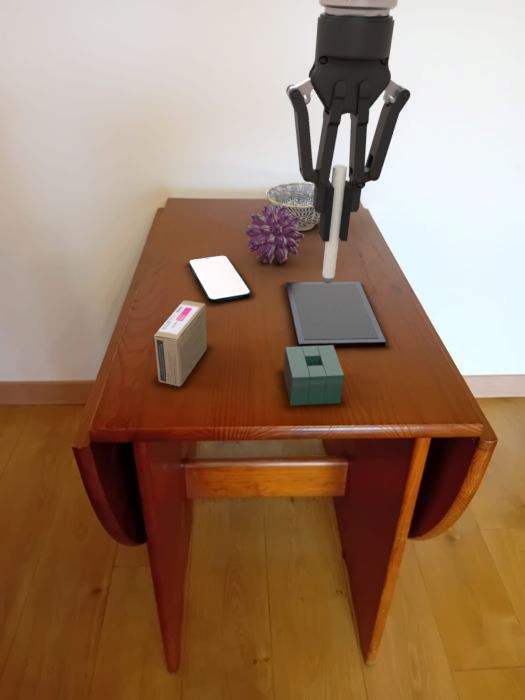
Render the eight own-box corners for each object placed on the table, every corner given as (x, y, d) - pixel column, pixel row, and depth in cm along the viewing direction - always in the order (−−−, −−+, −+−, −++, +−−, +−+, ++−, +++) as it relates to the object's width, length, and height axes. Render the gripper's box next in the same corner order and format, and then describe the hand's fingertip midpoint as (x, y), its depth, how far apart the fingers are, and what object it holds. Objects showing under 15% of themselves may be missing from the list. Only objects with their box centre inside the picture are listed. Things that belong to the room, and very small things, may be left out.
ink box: (186, 344, 85) (183, 298, 81) (209, 349, 85) (207, 302, 80) (156, 382, 78) (151, 334, 73) (181, 388, 77) (177, 339, 72)
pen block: (340, 403, 75) (344, 375, 72) (290, 405, 74) (292, 377, 71) (330, 372, 80) (333, 344, 78) (283, 374, 80) (285, 346, 77)
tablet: (385, 346, 86) (386, 341, 85) (298, 348, 85) (298, 343, 85) (358, 286, 102) (359, 281, 102) (285, 286, 101) (285, 281, 101)
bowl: (256, 233, 121) (256, 200, 117) (275, 208, 134) (276, 178, 129) (325, 243, 118) (329, 210, 113) (339, 217, 130) (342, 186, 126)
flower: (243, 257, 114) (295, 240, 116) (261, 282, 105) (317, 262, 107) (231, 206, 107) (286, 189, 109) (249, 227, 98) (309, 208, 100)
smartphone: (251, 297, 98) (225, 258, 110) (252, 293, 97) (225, 254, 109) (209, 304, 96) (187, 264, 108) (209, 300, 95) (187, 260, 107)
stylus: (336, 283, 70) (350, 167, 61) (327, 287, 69) (340, 169, 61) (327, 278, 71) (339, 163, 62) (318, 282, 70) (330, 166, 61)
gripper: (415, 10, 56) (381, 223, 70) (277, 7, 55) (270, 225, 69) (442, 16, 50) (399, 248, 64) (288, 13, 49) (278, 251, 63)
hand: (332, 236), depth 66 cm, fingers closed on stylus, 1 cm apart
